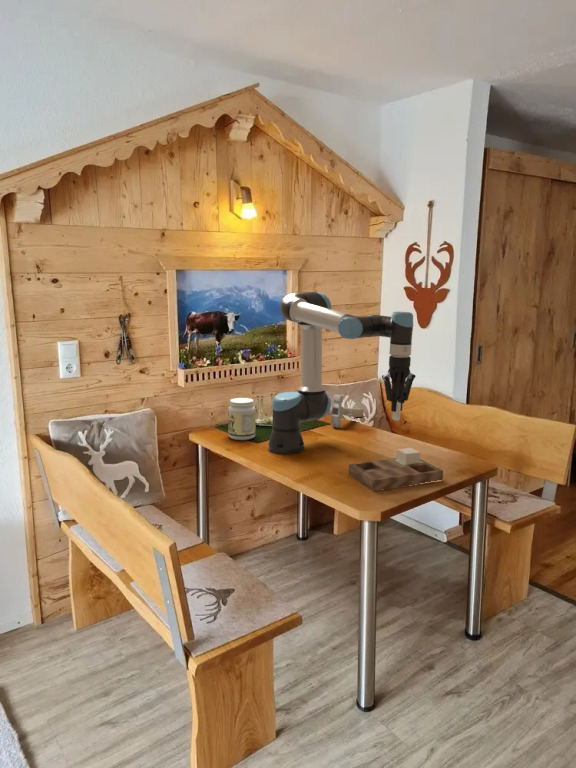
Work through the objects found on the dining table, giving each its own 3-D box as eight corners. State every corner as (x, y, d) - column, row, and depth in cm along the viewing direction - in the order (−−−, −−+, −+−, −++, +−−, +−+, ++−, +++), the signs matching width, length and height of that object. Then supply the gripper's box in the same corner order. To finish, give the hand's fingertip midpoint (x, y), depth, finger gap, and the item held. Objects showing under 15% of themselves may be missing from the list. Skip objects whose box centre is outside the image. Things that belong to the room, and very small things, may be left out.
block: (405, 464, 208) (405, 453, 207) (396, 459, 213) (397, 449, 212) (419, 462, 210) (420, 452, 209) (410, 457, 215) (410, 447, 214)
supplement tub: (224, 435, 259) (223, 398, 256) (249, 432, 264) (248, 396, 261) (234, 442, 248) (234, 404, 245) (259, 438, 253) (259, 401, 250)
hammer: (357, 397, 296) (332, 394, 270) (365, 398, 293) (341, 395, 267) (353, 427, 296) (328, 427, 270) (361, 428, 293) (337, 428, 267)
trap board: (373, 491, 192) (373, 480, 191) (348, 474, 208) (348, 464, 208) (442, 481, 202) (443, 470, 201) (413, 465, 218) (414, 455, 218)
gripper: (389, 358, 196) (385, 424, 201) (421, 356, 201) (417, 421, 206) (378, 354, 203) (375, 418, 208) (409, 353, 208) (405, 416, 213)
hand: (396, 419), depth 207 cm, fingers closed
